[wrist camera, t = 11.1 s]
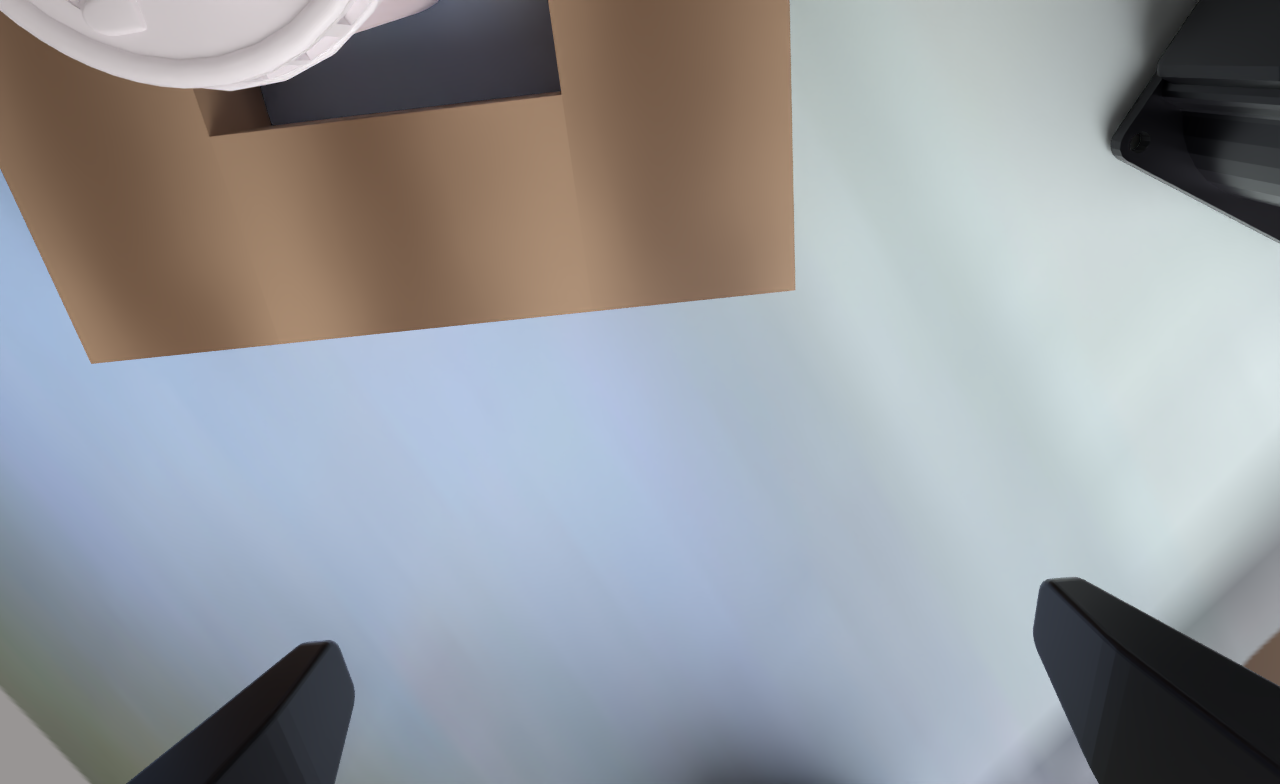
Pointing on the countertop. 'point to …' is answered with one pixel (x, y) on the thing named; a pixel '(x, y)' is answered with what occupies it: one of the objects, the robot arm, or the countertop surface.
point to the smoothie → (203, 35)
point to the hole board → (412, 189)
